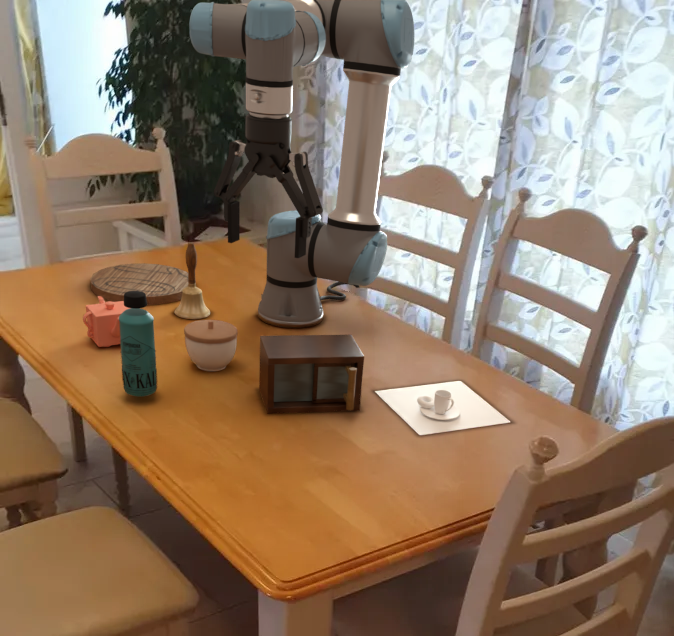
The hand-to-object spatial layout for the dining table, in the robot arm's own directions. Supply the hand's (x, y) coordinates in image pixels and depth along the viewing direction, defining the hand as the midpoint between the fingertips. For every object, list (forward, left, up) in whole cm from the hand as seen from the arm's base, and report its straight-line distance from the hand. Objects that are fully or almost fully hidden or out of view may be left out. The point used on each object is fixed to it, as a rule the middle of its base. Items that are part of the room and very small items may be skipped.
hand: (266, 248), depth 160 cm
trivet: (-15, -66, -28) cm, 74 cm away
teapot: (+9, -40, -28) cm, 50 cm away
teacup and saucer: (-27, +23, -28) cm, 45 cm away
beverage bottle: (+19, -13, -28) cm, 37 cm away
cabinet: (-7, +6, -28) cm, 30 cm away
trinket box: (-1, -18, -28) cm, 34 cm away
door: (-7, +13, -27) cm, 31 cm away
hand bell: (-15, -45, -28) cm, 56 cm away
